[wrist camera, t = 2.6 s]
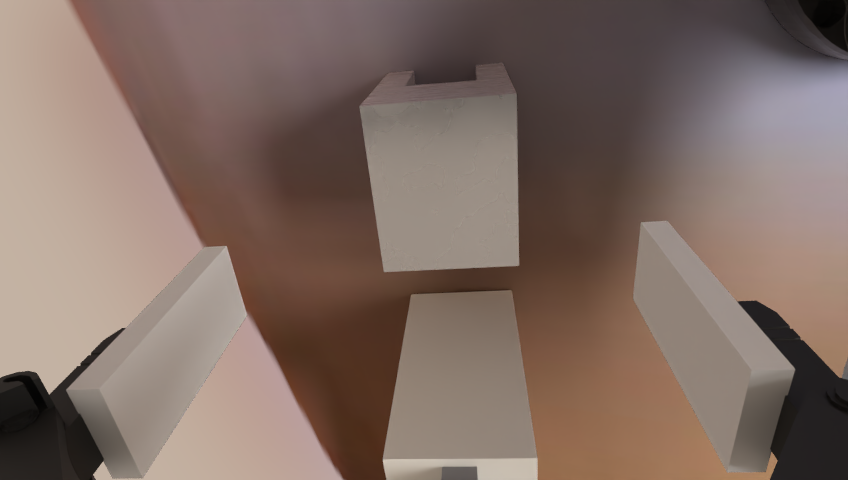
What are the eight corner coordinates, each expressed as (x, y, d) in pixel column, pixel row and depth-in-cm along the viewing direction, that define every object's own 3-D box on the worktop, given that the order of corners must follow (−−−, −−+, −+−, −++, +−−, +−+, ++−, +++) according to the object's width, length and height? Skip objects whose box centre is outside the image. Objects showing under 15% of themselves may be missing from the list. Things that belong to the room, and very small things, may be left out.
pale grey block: (388, 72, 29) (359, 106, 21) (502, 62, 29) (516, 93, 21) (403, 201, 33) (383, 272, 25) (505, 195, 32) (519, 265, 24)
